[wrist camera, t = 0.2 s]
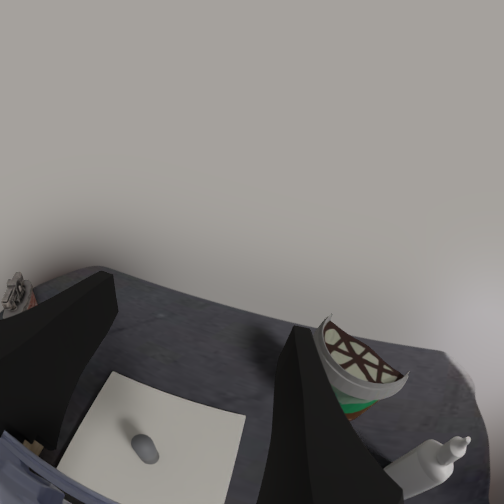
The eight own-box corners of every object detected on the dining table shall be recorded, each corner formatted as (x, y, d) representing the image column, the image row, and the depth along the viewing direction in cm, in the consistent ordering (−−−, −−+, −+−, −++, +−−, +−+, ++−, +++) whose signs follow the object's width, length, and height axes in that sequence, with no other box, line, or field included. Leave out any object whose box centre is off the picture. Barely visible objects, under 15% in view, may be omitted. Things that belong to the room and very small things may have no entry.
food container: (270, 386, 31) (292, 333, 26) (303, 363, 35) (328, 310, 30) (343, 450, 23) (389, 411, 18) (370, 419, 27) (413, 373, 22)
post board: (211, 546, 12) (213, 551, 10) (57, 479, 13) (33, 466, 11) (244, 420, 26) (252, 399, 23) (114, 376, 27) (105, 350, 25)
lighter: (31, 319, 30) (11, 264, 25) (49, 319, 31) (30, 263, 26) (21, 361, 24) (-10, 304, 19) (40, 362, 25) (11, 305, 20)
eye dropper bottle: (381, 504, 16) (457, 470, 10) (380, 464, 21) (447, 417, 15) (411, 498, 16) (487, 459, 10) (408, 461, 21) (475, 412, 15)
